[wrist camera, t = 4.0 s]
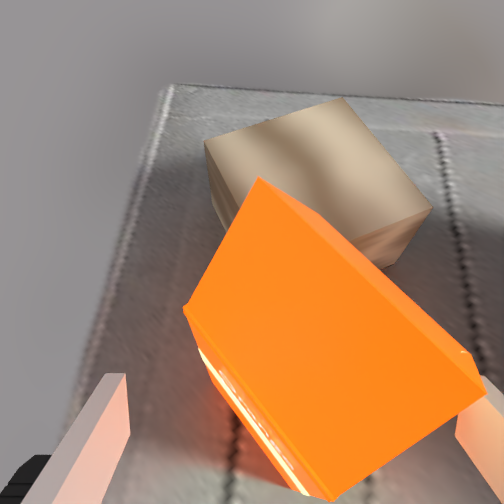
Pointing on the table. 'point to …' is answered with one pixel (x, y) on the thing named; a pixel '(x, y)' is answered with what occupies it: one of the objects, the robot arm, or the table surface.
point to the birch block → (322, 176)
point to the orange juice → (321, 348)
